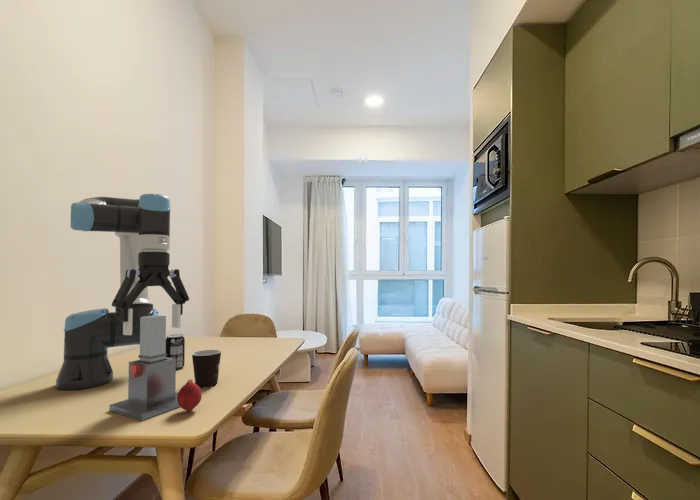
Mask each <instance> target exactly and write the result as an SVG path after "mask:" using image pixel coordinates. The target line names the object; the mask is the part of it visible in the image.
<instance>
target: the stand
mask: <svg viewBox="0 0 700 500" xmlns="http://www.w3.org/2000/svg"><path fill="white" fill-rule="evenodd" d="M176 371H177V370H176V359H174V358H168V357H166V360H164V361H159V362H155V363H151V364H146V363H141V362H140V359H136V360H133V361H129V362H128V383H127V384H128V385H127V386H128V388H127V389H128V390H127V391H128V392H127V393H128V395H127V399H124V400H120V401H117V402H115V403H111V404H109V407H108V408H109V409H108V410H109V411H110V412H113V413H116V414H119V415H122V416H125V417H128V418H131V419H136V420H138V421H145V420H148V419H151V418H153V417H156V416H160V415H161V414H165V413H166V412H170V411H172V410H175V409H178V408H181V407H180V406H179V404H178V402H177V395H178V392H176V384H177V383H176V382H177V381H176V379H177V376H176V373H177V372H176Z"/></svg>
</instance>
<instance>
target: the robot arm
mask: <svg viewBox="0 0 700 500" xmlns="http://www.w3.org/2000/svg"><path fill="white" fill-rule="evenodd" d="M171 210H172V208H171V200H170V198H169V197H168V196H167V195H164V194H158V193H144V194H141V195H139V198H137V199H135V198H133V199H132V198H122V197H121V198H120V197H111V196H95V197H87V198H84V199H82V200H80V201H79V202H73V203H71V204H70V224H69V225H70V229H72V230H73V231H80V232H107V233H114V235H115V236H116V237H118V238H119V264H120V266H119V270H120V272H119V273H120V274H119V275H120V281H119V282H120V283H119V285H120V287H119V289H118V290H117V292H116V295H115V296H114V299H113V300H112V303H111V306H112V307H115V309H114V310H115V311H113V312H110V311H109V309H108V308H96V309H89V310H84V311H79V312H74V313H72V314H69V315H68V316H67V317H66V318H65V320H64V329H63V332H64V337H63V338H64V340H63V342H64V343H63V362H62V364H61V367H60V370H59V373H58V375H57V377H56V380H55V388H56V389H57V390H61V391H72V390H73V391H74V390H83V389H89V388H93V387H98V386H101V385H105V384H108V383H109V382H112V381H113V380H114V370H113V367H112V365H111V362H110V360H109V356H108V349H109V348H116V347H126V346H127V347H128V346H135V345H139V346H140V317H146V316H154V315H159V316H160V314H159V312H160V311H159V310H158V308H157V309H156V308H154V303H152V302H151V301H150V300H149V287H160V288H162V289H163V290H164V291H165V292H166V294H167V295H168V296H169V297H170V299H171V300H172V301H173V303H172V305H171V328H175V329H176V328H177V329H179V328H180V329H181V316H182V315H183V309H184V308H183V307H184V306H183V305H184V304H185V303H186V302H189V300H190V297H189V295H188V292H187V290H186V287H185V285H184V283H183V281H182V279H181V277H180V276H181V275H180V269H178V268H177V269H175V268H174V269H169V267H170V264H171V263H170V261H171V260H170V259H171V257H170V254H171V253H170V252H168V251H169V250H170V249H171V248H170V245H171V244H170V242H171V235H170V234H171V232H170V231H171V230H170V229H171V227H170V226H171V225H170V224H171ZM169 278H170V280H171V281H170V280H169ZM172 284H173V285H172Z"/></svg>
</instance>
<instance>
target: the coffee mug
mask: <svg viewBox="0 0 700 500" xmlns="http://www.w3.org/2000/svg"><path fill="white" fill-rule="evenodd" d="M221 357H222V350H221V349H204V350H197V351H194V352H191V358H192V368H193V374H194V383H195V384H196V385H198V386H199V387H200V389H204V388H203V387H208V388H212V387H211V386H213V387H215V386H217V385H218V383H219V381H218V380H219V373H220V365H221ZM216 384H217V385H216ZM214 385H215V386H214Z"/></svg>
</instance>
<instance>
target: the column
mask: <svg viewBox="0 0 700 500" xmlns="http://www.w3.org/2000/svg"><path fill="white" fill-rule="evenodd" d="M166 338H167V315H160V314H159V315H154V316H146V317H140V345H139V355H138V356H137V358H139V360H140V362H141V363H146V364H151V363H155V362H159V361H164V360H166V356H167V353H166Z"/></svg>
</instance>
